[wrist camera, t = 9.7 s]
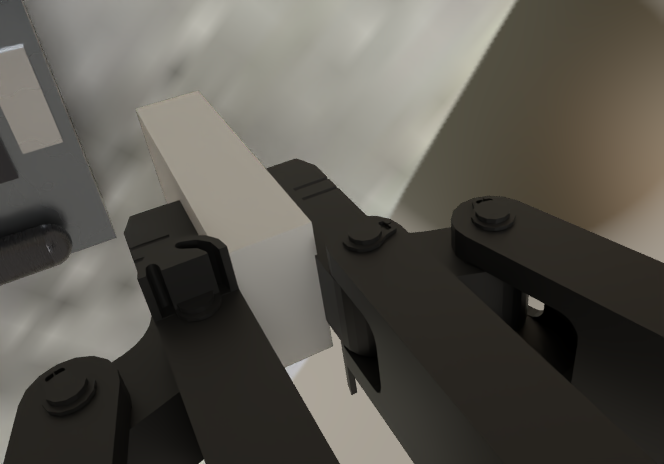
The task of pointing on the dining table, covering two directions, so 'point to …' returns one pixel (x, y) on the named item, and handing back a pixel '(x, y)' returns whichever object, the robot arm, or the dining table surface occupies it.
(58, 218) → the switch panel
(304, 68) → the dining table surface
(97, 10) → the dining table surface
